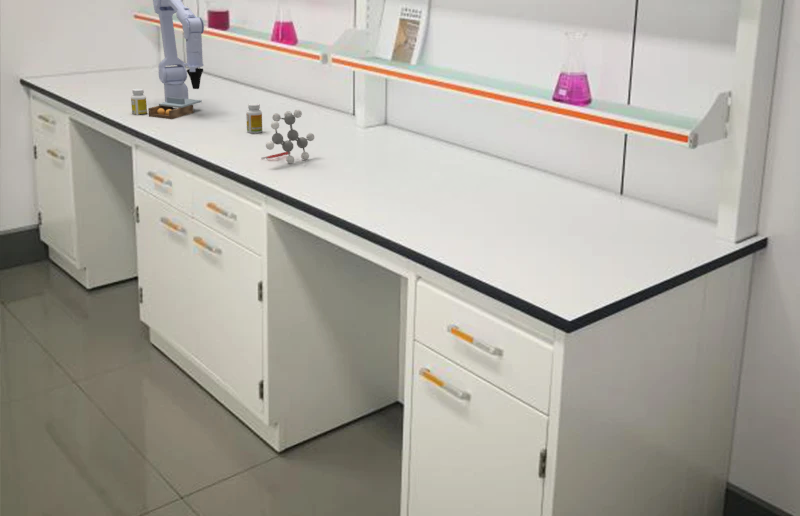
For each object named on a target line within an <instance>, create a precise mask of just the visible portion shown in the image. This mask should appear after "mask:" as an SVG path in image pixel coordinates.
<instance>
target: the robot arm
mask: <svg viewBox="0 0 800 516" xmlns="http://www.w3.org/2000/svg"><path fill="white" fill-rule="evenodd" d="M152 4H153V9H154V13H155V14H157V15H158V17H159V18H158V19H159V24H160V31H161V32H160V33H161V40H162V47H163V54H164V58H163V59H162V60H161V61H160V62H159V63H158V79H159V81H160V82H161V83H162V84H163V89H164V102H167V97H174V98H184V99H189V88H188V85H187V84H186V83H185V82H186V80H187V78H188V77H189V79H190V82H191V83H190V84H191V86H192V89H193V90H199V89H200V85H201V78H202V74H203V73H204V68H202V67H204V61H203V60H204V59H203V43H202V42H203V39H202V38H203V37H202V36H203V35H202V34H204V31H205V24H204V20H203V18H202V16H201V17H199V16H196V15H195V14H194V13H193V11H192V10H191V9H190V7H188V6H185V5H184V3H183V0H152ZM174 14H176V18H177V20H178V21H179V22H180V24H181V25H182V28H181V29H182V32H183V37H184V39H185V51H186V62H184V61H183V60H182V59H180V58H179V57H178V50H177V42H176V36H175V28H174V26H175V25H174V21H173V16H174ZM186 67H187V68H186Z"/></svg>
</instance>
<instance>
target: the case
mask: <svg viewBox="0 0 800 516" xmlns="http://www.w3.org/2000/svg"><path fill="white" fill-rule="evenodd" d="M159 108H162V109H164V110H165V112H166V110H168V109H171V110H170V111H169V115H166V113H165V114H164V115H161V114H158V113H157V110H158V109H159ZM147 112H148V117H150V118H159V119H166V120H167V119H168V120H174V119H177V118H181V117H184V116H188V115H190V114H194V104H193V105H189V106H186V107H182V108H178V107H169V106H160V105H159V104H158V105H156V106H152V107H151V106H150V107H147Z"/></svg>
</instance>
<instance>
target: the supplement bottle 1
mask: <svg viewBox="0 0 800 516" xmlns="http://www.w3.org/2000/svg"><path fill="white" fill-rule="evenodd" d="M144 92H145V91H144V88H132V94H133V95H131V97H130V104H131V113H132V115H133V116H145V115H148V107H147V97H146V95H145V93H144Z"/></svg>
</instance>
